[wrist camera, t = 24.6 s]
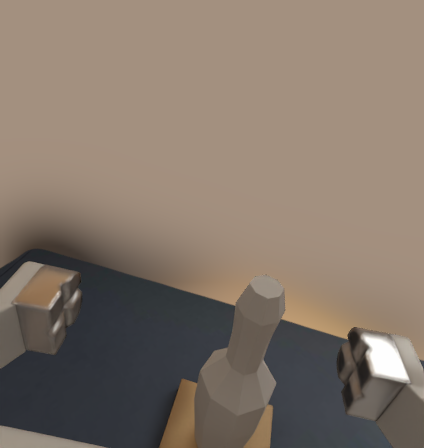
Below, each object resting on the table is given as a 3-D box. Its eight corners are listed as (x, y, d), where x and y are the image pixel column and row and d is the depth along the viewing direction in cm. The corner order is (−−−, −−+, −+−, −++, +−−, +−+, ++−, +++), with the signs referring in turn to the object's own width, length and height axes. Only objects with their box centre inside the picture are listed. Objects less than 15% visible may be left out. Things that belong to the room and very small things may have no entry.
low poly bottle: (215, 492, 32) (271, 339, 20) (175, 434, 36) (203, 275, 24) (260, 447, 36) (330, 296, 24) (220, 399, 40) (263, 247, 28)
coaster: (146, 489, 33) (147, 483, 32) (180, 385, 42) (181, 378, 41) (260, 528, 32) (264, 522, 31) (270, 412, 41) (273, 405, 40)
